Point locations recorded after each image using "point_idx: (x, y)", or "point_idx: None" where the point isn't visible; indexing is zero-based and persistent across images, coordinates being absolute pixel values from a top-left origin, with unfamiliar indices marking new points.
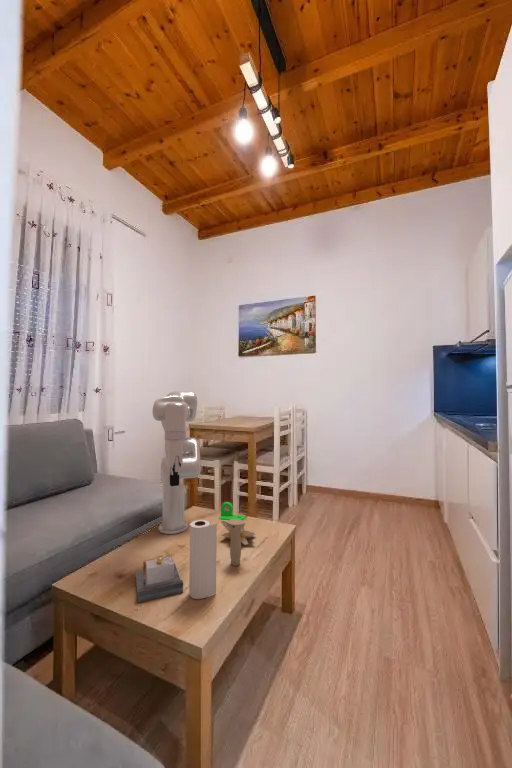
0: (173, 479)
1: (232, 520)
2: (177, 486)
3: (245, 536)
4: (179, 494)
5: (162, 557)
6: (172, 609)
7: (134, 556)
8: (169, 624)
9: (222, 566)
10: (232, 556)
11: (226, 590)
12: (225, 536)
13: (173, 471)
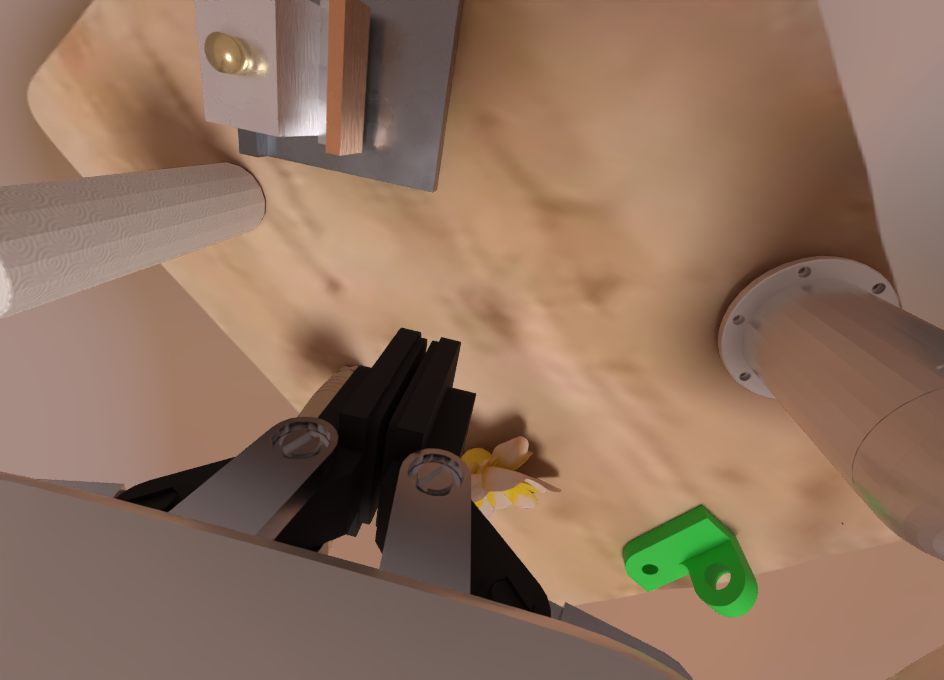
0: (332, 402)
1: None
2: (922, 511)
3: None
4: (858, 469)
5: (216, 66)
6: (181, 78)
7: (658, 44)
8: (110, 40)
9: (360, 337)
10: (331, 379)
11: (227, 278)
12: (502, 443)
13: (172, 491)
